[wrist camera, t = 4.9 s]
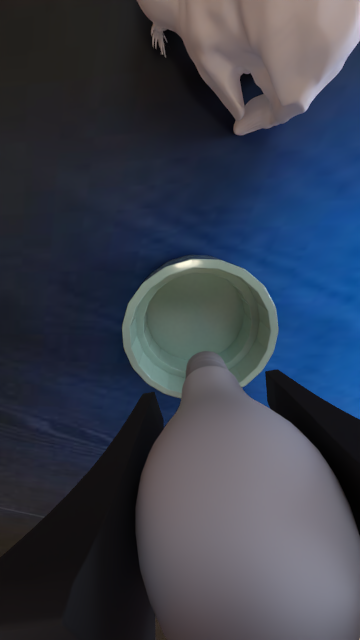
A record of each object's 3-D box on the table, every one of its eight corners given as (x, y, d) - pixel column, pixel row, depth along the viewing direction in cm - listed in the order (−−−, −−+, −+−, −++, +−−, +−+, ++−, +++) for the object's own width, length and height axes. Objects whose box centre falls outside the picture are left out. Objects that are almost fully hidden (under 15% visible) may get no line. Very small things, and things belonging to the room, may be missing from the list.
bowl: (202, 383, 23) (208, 420, 18) (113, 326, 20) (93, 352, 15) (278, 306, 19) (311, 326, 15) (185, 225, 17) (187, 218, 12)
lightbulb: (145, 376, 14) (57, 731, 4) (186, 303, 12) (226, 631, 2) (218, 406, 15) (300, 747, 5) (266, 344, 13) (568, 694, 3)
